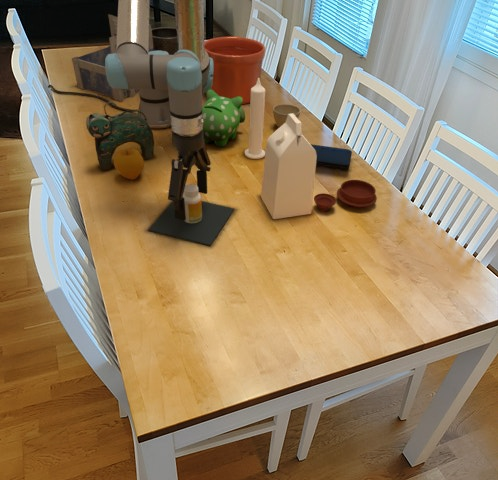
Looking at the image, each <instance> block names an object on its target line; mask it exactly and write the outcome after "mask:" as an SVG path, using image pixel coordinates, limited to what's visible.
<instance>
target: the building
mask: <svg viewBox="0 0 498 480" xmlns="http://www.w3.org/2000/svg"><path fill="white" fill-rule="evenodd" d="M107 16H108V22H109V29H110V37H108V38H109V45H108V46H107V47H104V48H101V49H99V50H96V51H92V52H90V53H86V54H83V55H81V56H74V57H71V62H72V66H73V72H74V76H75V80H76V84H77V88H78V89H81V90H87V91H91V92H94V93H96V94H100V95H103V96H106V97H108V98H112V99H113V100H114V101H116V102H117V101H118V102H123V101H124V99H126V98H128V97H130V98H132V97H134V96H136V94H137V93H139V89H129V90H126V89H115V88H112V87H111V86H110V85H109V83H108V81H107V77H106V70H105V58H106V56H107V55H108V54H113V53H116V44H117V23H118V16H115V15H113V14H110V13H109V14H107ZM152 29H153V28H152V24H151V23H149V52H151V51H154V49H153V39H152Z"/></svg>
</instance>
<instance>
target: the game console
mask: <svg viewBox="0 0 498 480" xmlns="http://www.w3.org/2000/svg"><path fill="white" fill-rule="evenodd" d="M310 144H311V146H312V147H313V148H314V149H315V151H316V154H317V159H316V166H320V167H327V168H333V169H341V170H346V171H347V170H349V169H350V165H351V159H352V155H353V151H352V150H351V149H348V148H341V147H333V146H326V145H319V144H312V143H310Z"/></svg>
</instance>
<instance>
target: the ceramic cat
mask: <svg viewBox="0 0 498 480" xmlns="http://www.w3.org/2000/svg"><path fill="white" fill-rule="evenodd" d="M110 103H111V104H113V105H115V106H117V104H116V103H115V102H113V101H110V102H106V103H105V104H104V106H103V109H104V110H103V111H104V114H102V113H99V112H93V113H90V114H89V115H88V116H87V117H86V120H85V124H86V126H85V127H86V129H87V131H88V133H89V134H90V136H91V137H93V138H94V146H95V147H94V148H95V153H96V157H97V162H98V165H99V168H100V169H101V170H102V171H109V170H111V169H112V167H113V166H112V162H113V156H114V154H115V152H116V150H117V148H118V147H121V146H123V145H125V144H127V143H134V144H137V145H139V147H140V152H141V156H142V158H143V159H145V160H150V159H153V158H154V156H155V155H154V151H155V148H154V147H155V140H154V139H155V138H154V133H153V129H151V128H150V127H149V125H148V123H147V122H146V120H147V119H146V117H145V115H144V114H143V113H142V112H141V111H139V110H138V109H130V110H127V111H123V112H119V113H117V114H114V115H110V114H107V111H106V106H108V105H110ZM130 111H133V112H130ZM138 112H139V113H141V114H143V115H144V117H145V119H143V118H142V117H141V116H139V115H137V114H138Z"/></svg>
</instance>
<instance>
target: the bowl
mask: <svg viewBox="0 0 498 480" xmlns="http://www.w3.org/2000/svg"><path fill="white" fill-rule="evenodd" d="M272 113H273V114H272V115H273V118H274V122H275V124H276V126H277V129H278V128H280V127H281V126H282V125H283V124H284V123H286V119H287V116H288V114H292V113H293V114H294V115H295V116H296V117H297V118H298V119H299V118H300V114H301V108H300V107H298V106H297V105H294V104H291V103H290V104H289V103H280V104H276V105H274V106H273V108H272Z"/></svg>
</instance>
